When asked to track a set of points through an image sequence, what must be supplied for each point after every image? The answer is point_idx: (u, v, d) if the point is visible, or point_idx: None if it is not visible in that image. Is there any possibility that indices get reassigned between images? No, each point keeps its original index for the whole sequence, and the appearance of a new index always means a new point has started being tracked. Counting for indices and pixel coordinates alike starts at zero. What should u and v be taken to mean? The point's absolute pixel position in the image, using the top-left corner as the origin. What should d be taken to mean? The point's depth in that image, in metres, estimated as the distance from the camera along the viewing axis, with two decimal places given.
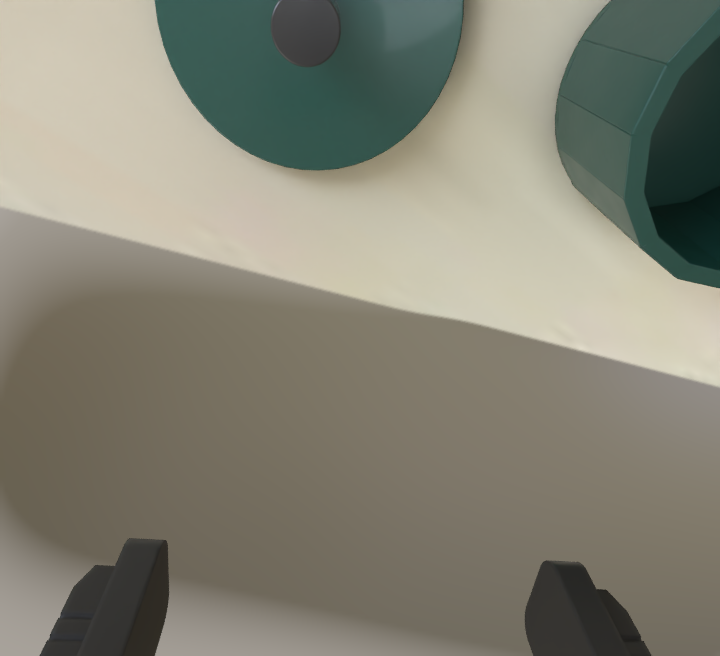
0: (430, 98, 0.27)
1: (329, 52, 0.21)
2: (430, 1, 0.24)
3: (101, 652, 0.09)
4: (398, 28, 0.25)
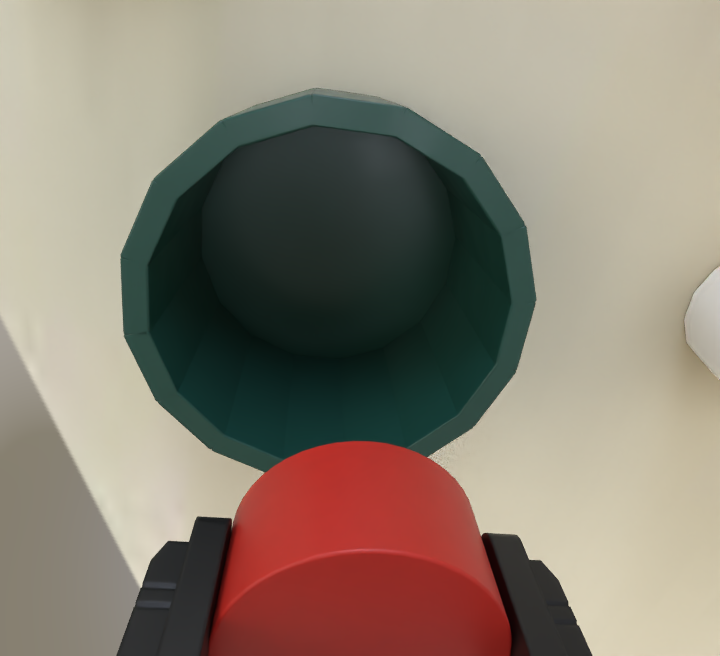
0: None
1: None
2: None
3: (188, 616, 0.09)
4: None
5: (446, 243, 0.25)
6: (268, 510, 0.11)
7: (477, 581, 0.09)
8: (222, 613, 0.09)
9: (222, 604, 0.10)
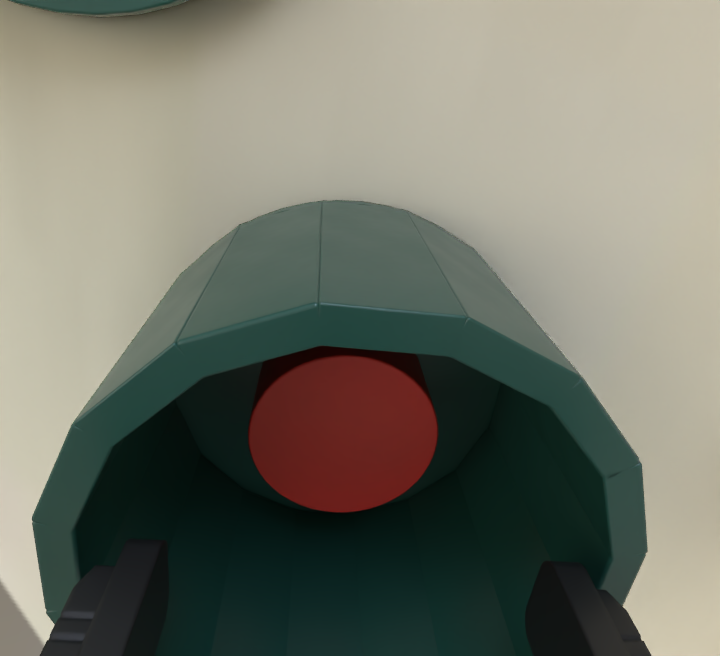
0: (82, 0, 0.13)
1: None
2: None
3: (101, 652, 0.09)
4: None
5: (490, 381, 0.19)
6: None
7: (414, 379, 0.16)
8: (259, 399, 0.16)
9: (258, 396, 0.16)
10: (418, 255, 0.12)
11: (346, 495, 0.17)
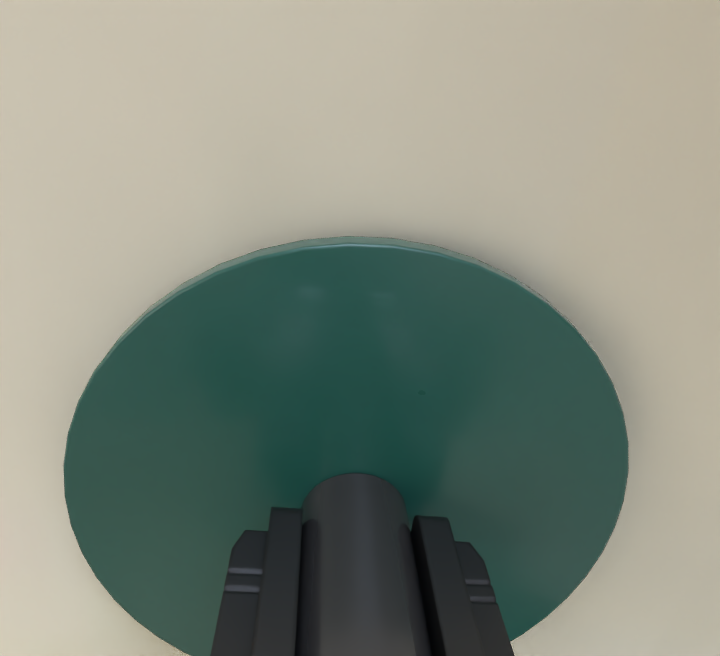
0: None
1: None
2: None
3: (279, 599, 0.10)
4: None
5: None
6: None
7: None
8: None
9: None
10: None
11: None
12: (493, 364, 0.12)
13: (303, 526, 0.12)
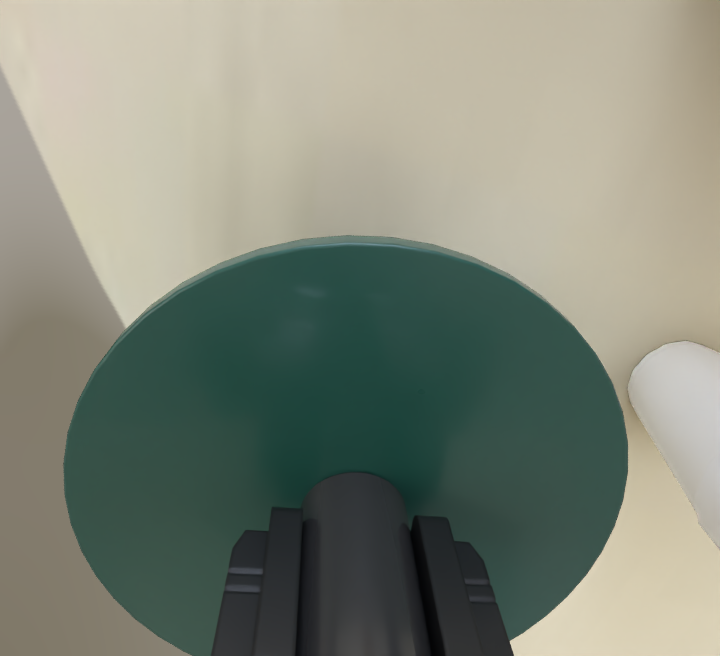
0: None
1: None
2: None
3: (279, 599, 0.10)
4: None
5: None
6: None
7: None
8: None
9: None
10: None
11: None
12: (493, 363, 0.12)
13: (303, 525, 0.12)
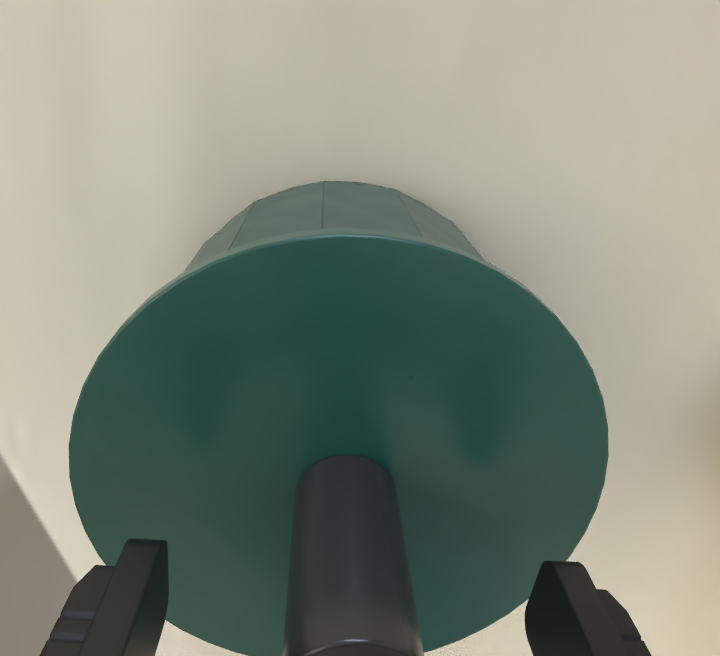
0: None
1: None
2: (454, 604, 0.16)
3: (101, 652, 0.09)
4: None
5: None
6: None
7: None
8: None
9: None
10: (401, 220, 0.15)
11: None
12: (478, 350, 0.13)
13: (297, 505, 0.13)
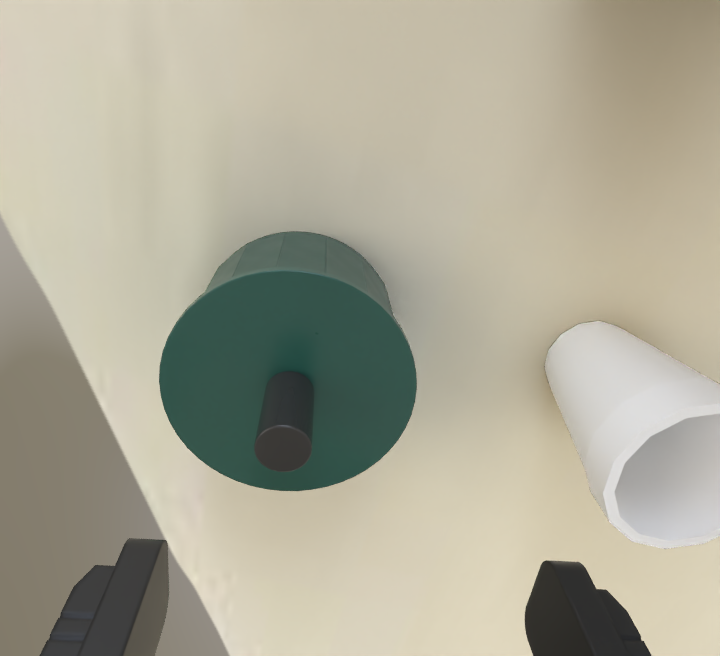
0: (292, 487, 0.32)
1: (278, 470, 0.25)
2: (349, 454, 0.31)
3: (101, 652, 0.09)
4: (321, 445, 0.31)
5: None
6: None
7: None
8: None
9: None
10: (319, 258, 0.30)
11: None
12: (346, 321, 0.28)
13: (265, 392, 0.28)
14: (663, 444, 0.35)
